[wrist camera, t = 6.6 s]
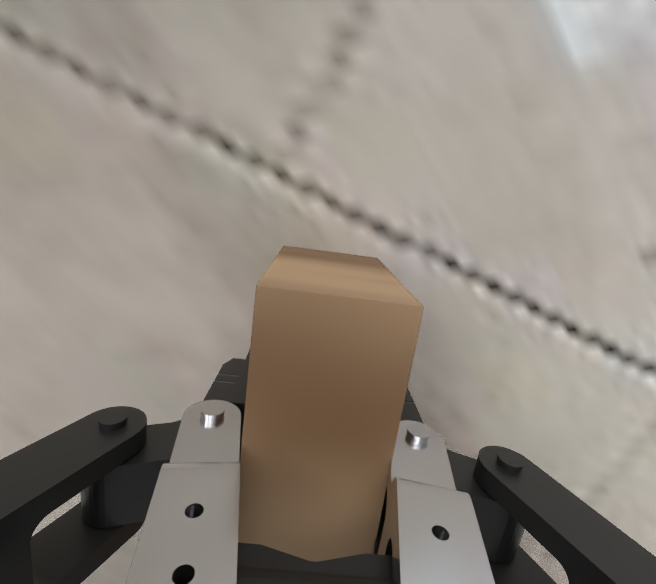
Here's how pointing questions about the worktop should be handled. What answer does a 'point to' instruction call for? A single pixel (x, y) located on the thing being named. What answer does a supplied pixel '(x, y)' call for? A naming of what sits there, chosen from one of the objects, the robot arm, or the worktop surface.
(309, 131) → the worktop surface
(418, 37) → the worktop surface
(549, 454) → the worktop surface
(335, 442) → the batten
